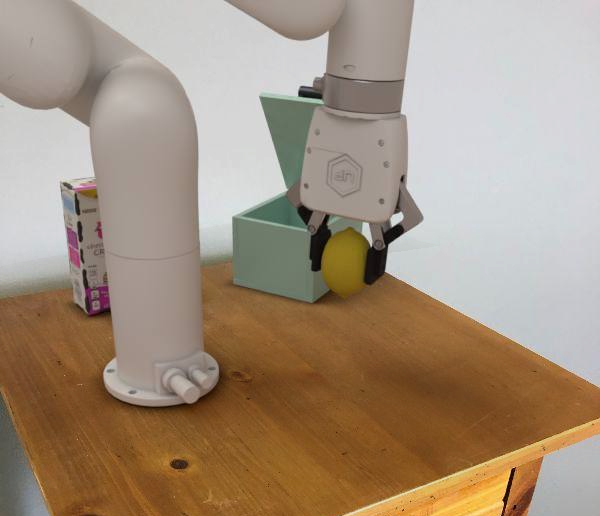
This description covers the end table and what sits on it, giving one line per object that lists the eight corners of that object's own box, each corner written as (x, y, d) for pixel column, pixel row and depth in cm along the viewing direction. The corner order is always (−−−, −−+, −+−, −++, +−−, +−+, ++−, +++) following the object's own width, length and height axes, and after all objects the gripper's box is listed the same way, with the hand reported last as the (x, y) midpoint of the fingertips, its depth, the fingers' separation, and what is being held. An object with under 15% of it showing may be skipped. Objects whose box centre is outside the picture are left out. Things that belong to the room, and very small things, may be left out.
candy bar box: (89, 317, 96) (73, 190, 88) (73, 304, 100) (56, 180, 91) (166, 298, 102) (158, 177, 94) (149, 286, 106) (139, 168, 97)
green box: (312, 303, 102) (315, 233, 97) (233, 284, 107) (231, 216, 102) (359, 267, 114) (364, 203, 109) (286, 252, 119) (287, 190, 114)
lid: (345, 106, 95) (360, 81, 97) (258, 95, 100) (275, 71, 102) (363, 202, 109) (376, 178, 111) (286, 189, 114) (300, 165, 116)
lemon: (329, 285, 85) (335, 216, 81) (375, 295, 84) (383, 225, 80) (310, 301, 81) (315, 229, 77) (358, 312, 79) (366, 239, 75)
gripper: (266, 89, 72) (259, 267, 81) (435, 114, 66) (407, 305, 75) (302, 81, 78) (292, 248, 87) (461, 104, 71) (432, 282, 81)
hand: (346, 273), depth 81 cm, fingers closed on lemon, 5 cm apart
